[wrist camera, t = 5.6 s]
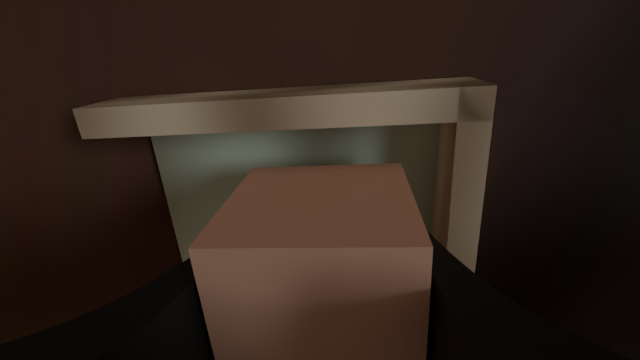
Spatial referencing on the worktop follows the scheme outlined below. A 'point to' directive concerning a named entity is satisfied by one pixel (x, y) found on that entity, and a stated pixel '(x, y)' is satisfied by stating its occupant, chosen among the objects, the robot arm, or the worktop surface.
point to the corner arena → (316, 144)
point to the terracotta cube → (316, 266)
